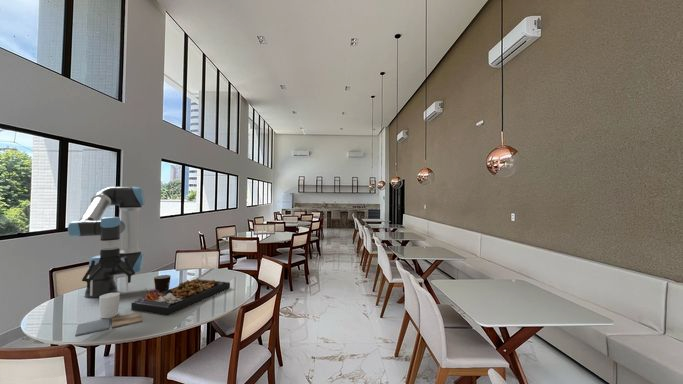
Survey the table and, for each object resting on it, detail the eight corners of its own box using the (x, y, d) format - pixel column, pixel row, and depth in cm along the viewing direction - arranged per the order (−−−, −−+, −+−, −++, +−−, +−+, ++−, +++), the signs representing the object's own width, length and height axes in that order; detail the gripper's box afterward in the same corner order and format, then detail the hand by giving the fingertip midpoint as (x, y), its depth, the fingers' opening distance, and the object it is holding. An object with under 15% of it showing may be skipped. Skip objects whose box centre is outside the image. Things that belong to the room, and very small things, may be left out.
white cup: (106, 313, 146) (106, 292, 147) (123, 312, 147) (123, 292, 147) (94, 319, 139) (94, 298, 139) (112, 318, 139) (112, 297, 140)
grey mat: (78, 325, 132) (78, 324, 132) (109, 319, 139) (109, 318, 139) (75, 336, 122) (75, 334, 122) (109, 328, 128) (109, 327, 128)
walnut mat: (112, 318, 139) (112, 317, 139) (140, 313, 146) (140, 311, 146) (112, 328, 129) (112, 326, 129) (142, 321, 136) (142, 320, 136)
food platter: (168, 316, 143) (168, 295, 143) (131, 311, 150) (131, 290, 151) (229, 289, 186) (229, 273, 186) (198, 285, 193) (198, 270, 193)
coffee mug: (162, 296, 171) (162, 279, 172) (150, 295, 173) (150, 278, 173) (177, 290, 183) (177, 273, 183) (165, 289, 184) (165, 273, 185)
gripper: (75, 252, 133) (74, 299, 132) (141, 246, 148) (140, 289, 148) (76, 250, 139) (75, 295, 138) (140, 245, 154) (139, 285, 153)
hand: (109, 292), depth 143 cm, fingers open, 13 cm apart
